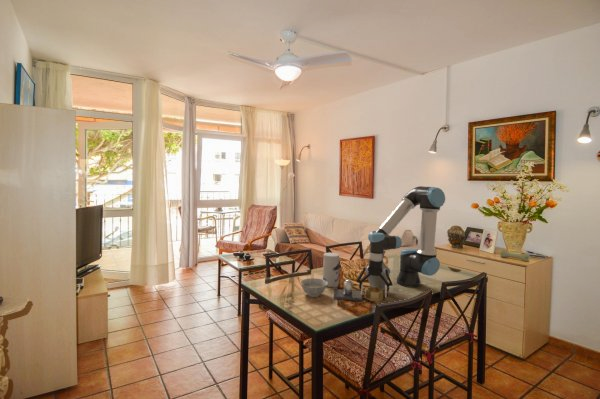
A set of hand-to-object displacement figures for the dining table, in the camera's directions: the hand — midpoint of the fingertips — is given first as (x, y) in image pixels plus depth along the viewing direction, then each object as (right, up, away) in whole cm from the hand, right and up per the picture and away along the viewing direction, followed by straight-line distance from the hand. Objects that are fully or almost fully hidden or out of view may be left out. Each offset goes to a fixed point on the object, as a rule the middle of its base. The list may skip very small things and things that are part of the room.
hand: (373, 295), depth 191 cm
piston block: (-15, -1, +2) cm, 15 cm away
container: (-23, +1, +22) cm, 31 cm away
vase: (+5, -1, +13) cm, 14 cm away
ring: (0, -1, 0) cm, 1 cm away
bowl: (-35, -1, +3) cm, 35 cm away
